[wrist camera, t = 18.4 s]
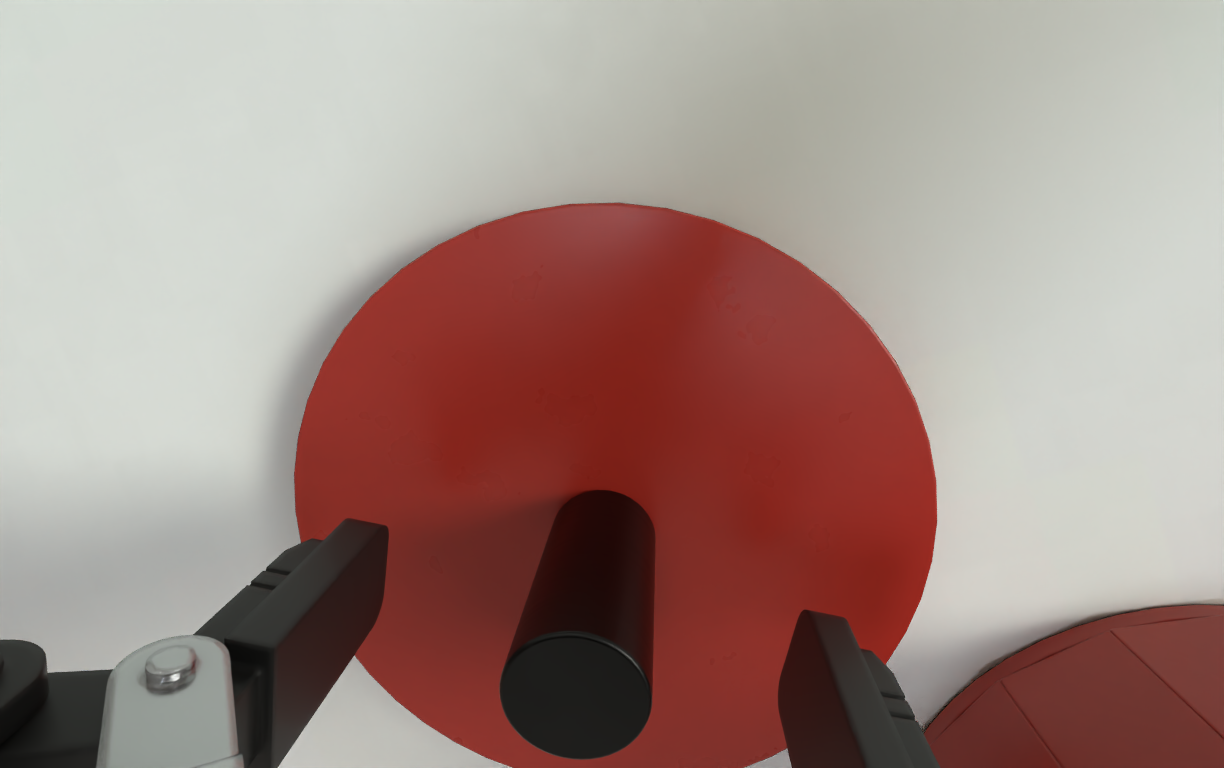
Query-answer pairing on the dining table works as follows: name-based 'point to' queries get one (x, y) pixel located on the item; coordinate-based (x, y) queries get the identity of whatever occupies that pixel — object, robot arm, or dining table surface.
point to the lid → (616, 484)
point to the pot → (1098, 698)
